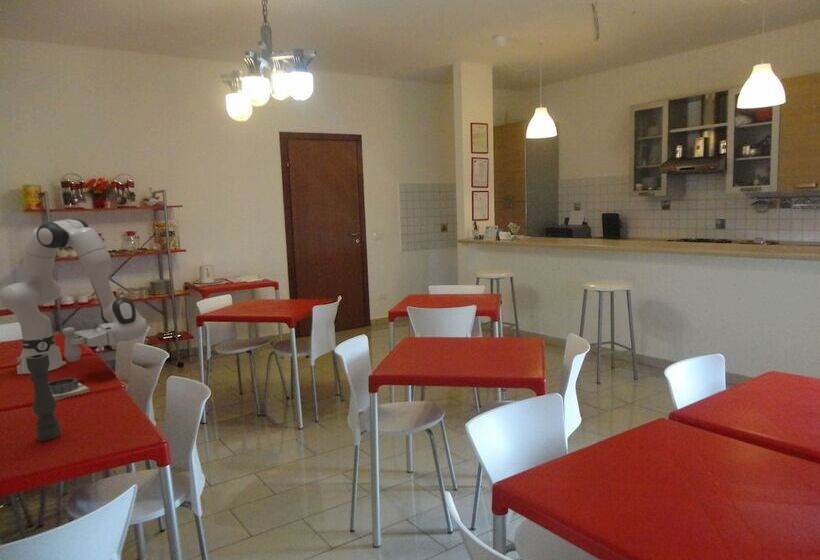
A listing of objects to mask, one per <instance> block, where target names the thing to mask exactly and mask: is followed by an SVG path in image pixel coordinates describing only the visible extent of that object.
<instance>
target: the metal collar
mask: <svg viewBox="0 0 820 560" xmlns="http://www.w3.org/2000/svg"><path fill="white" fill-rule="evenodd" d="M78 382H79V380H78V378H76V377H68V378H67V377H65V378H59V379H56V380H52V381H49V388H50V391H51V393H52V394H62V393H67V392H71V391H73V390H76V389H77V388H78V387H79V386H78Z"/></svg>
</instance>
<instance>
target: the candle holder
mask: <svg viewBox="0 0 820 560" xmlns="http://www.w3.org/2000/svg"><path fill="white" fill-rule="evenodd" d="M26 363H27V369H29V372H31V374H30V375H31V376H30V377H29V380H30V381H31V382H32V384H33V388H34V389H33V390H34V394H33V403H32V411H33V413H34V414H35V415H36V417H37V421H36V422H35V425H36V427H35V433H36V440H37V441H40V442H44V441H45V442H46V440H47V441H51V440H53V439H54V438H55V439H57V438H59V437H60V436H61V435H62V432H61V425H60V422H58V421H59V419H58V417H56V416H55V412H56V410H57V408H58V407H57V406H58V405H57V401H55V400H54V397H53V395H52V393H51V391H50V388H49V382H50V381H49V379H50V377H51V374H50V373H49V371H48V369H49V365H50V363H49V357H48V354H37V355H32V356H29V357H27V358H26ZM58 436H59V437H58ZM56 437H57V438H56ZM50 439H51V440H50Z"/></svg>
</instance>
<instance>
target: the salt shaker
mask: <svg viewBox="0 0 820 560" xmlns="http://www.w3.org/2000/svg"><path fill="white" fill-rule="evenodd" d="M75 332H76V328H74V326H73V327H71V326H70V327H64V328H63V329H62V334H63V335H64V358H65V359H66V362H75V361H79V360H80V359H81V356H82V351H81V349H80V347H79V344H74V345H71V344H70V342H69V341H70V340H73V339H76V338H75V336H74V333H75Z"/></svg>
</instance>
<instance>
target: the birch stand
mask: <svg viewBox="0 0 820 560" xmlns="http://www.w3.org/2000/svg"><path fill="white" fill-rule="evenodd" d="M78 386H79V387H78V388H77V389H76V390H73V391H71V392H67V393H62V394H52V395H53V397H54V400H55V402H57V401H61V400H64V398H65V399H68V398H67V397H69V398H72V397H71V396H73V397H76V396H75V395H77V396H80V395H79V394H81V395H84V394H83V393H85V394H87V393H86V392H89V393H90V391H91V390H90V387H88V386H86V385H84V384H82V383H80V382H79V381H78Z"/></svg>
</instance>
